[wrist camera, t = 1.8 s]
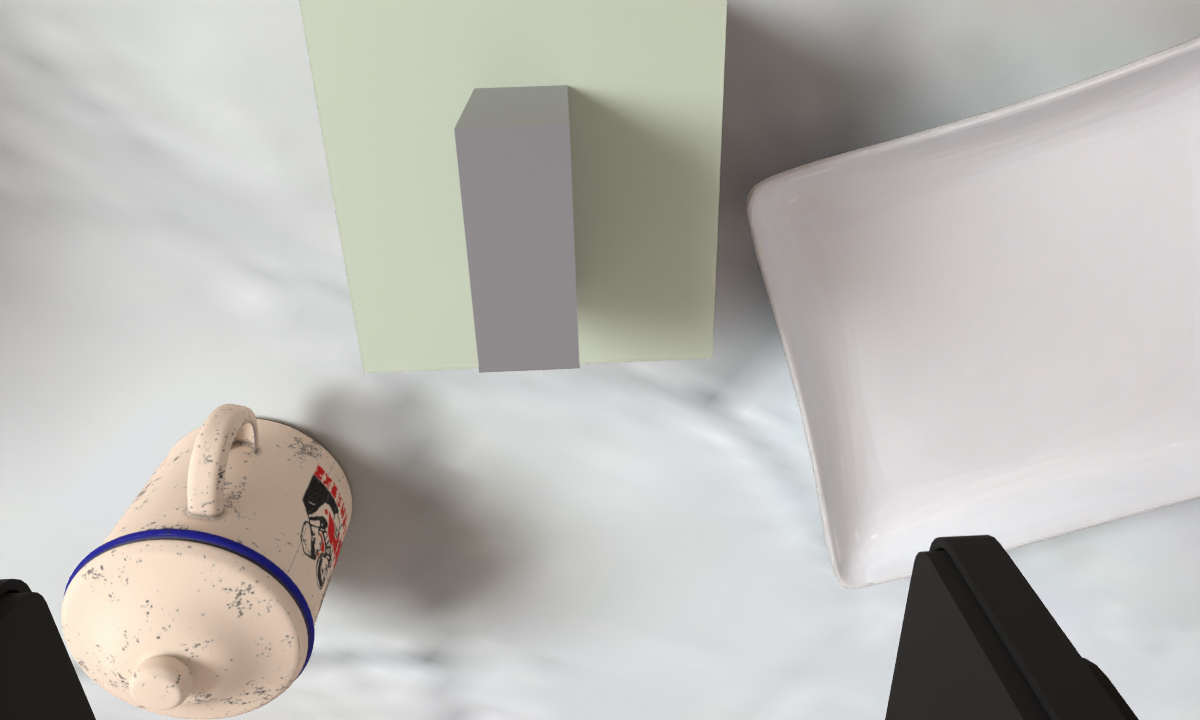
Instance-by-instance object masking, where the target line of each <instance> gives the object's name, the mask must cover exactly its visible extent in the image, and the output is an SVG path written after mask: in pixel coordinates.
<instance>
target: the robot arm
mask: <svg viewBox="0 0 1200 720" xmlns="http://www.w3.org/2000/svg"><path fill="white" fill-rule="evenodd" d="M0 720H96V719H95V716H94V714H93V712H92V709H91V707H90V705H89V702H88V700H87V697H86V695H85V693H84V690H83V688H82V686H81V683H80V681H79V679H78V676H77V674H76V671H75V669H74V667H73V664H72V662H71V660H70V657H69V655H68V652H67V650H66V648H65V645H64V643H63V641H62V638H61V636H60V634H59V631H58V629H57V626H56V624H55V622H54V619H53V617H52V615H51V612H50V610H49V608H48V605H47V603H46V601H45V599H44V598H43V596H42V595H40V594H39V593H36V592H32V591H31V590H30V588H29V587H28V585H27V584H26V583H24V582H23V581H21V580H17V579H1V580H0ZM885 720H1138V718H1137V717H1136V715H1135V714H1134V713H1133V711H1132V710H1131V709H1130V707H1129V706H1128V704H1127V703H1126V702H1125V700H1124V699H1123V698H1122V696H1121V695H1120V693H1119V692H1118V691H1117V689H1116V688H1115V687H1114V685H1113V684H1112V683H1111V681H1110V680H1109V678H1108V677H1107V676H1106V675H1105V674H1104V673H1103V672H1102V671H1101V670H1100V668H1099V667H1098V666H1097V665H1095V664H1094V663H1092V662H1090V661H1089V660H1087V659H1085V658H1082V657H1081V656H1080V654H1079V653H1078V652H1077V650H1076V649H1075V647H1074V646H1073V645H1072V643H1071V642H1070V640H1069V639H1068V638H1067V636H1066V635H1065V633H1064V632H1063V631H1062V629H1061V628H1060V626H1059V625H1058V624H1057V622H1056V621H1055V619H1054V618H1053V617H1052V615H1051V614H1050V612H1049V611H1048V610H1047V608H1046V607H1045V605H1044V604H1043V603H1042V601H1041V600H1040V598H1039V597H1038V596H1037V594H1036V593H1035V591H1034V590H1033V589H1032V587H1031V586H1030V584H1029V583H1028V582H1027V580H1026V579H1025V577H1024V576H1023V575H1022V573H1021V572H1020V570H1019V569H1018V568H1017V566H1016V565H1015V563H1014V562H1013V561H1012V559H1011V558H1010V556H1009V555H1008V554H1007V552H1006V551H1005V549H1004V548H1003V547H1002V545H1001V544H1000V543H999V542H998V541H997V539H996V538H995V537H993V536H990V535H972V536H950V537H938V538H935V539H934V540H933V542H932V543H931V546H930V549H929V551H922V552H918V554H917V555H916V557H915V560H914V565H913V570H912V576H911V581H910V587H909V592H908V598H907V603H906V609H905V614H904V620H903V625H902V631H901V636H900V642H899V647H898V653H897V658H896V664H895V669H894V674H893V680H892V685H891V691H890V696H889V702H888V707H887V713H886V718H885Z"/></svg>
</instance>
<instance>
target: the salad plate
mask: <svg viewBox="0 0 1200 720" xmlns="http://www.w3.org/2000/svg"><path fill="white" fill-rule="evenodd" d="M746 213H747V219H748V224H749V228H750V232H751V236H752V240H753V244H754V248H755V252H756V256H757V260H758V263H759V267H760V270H761V273H762V277H763V280H764V284H765V287H766V291H767V294H768V297H769V301H770V304H771V308H772V311H773V315H774V318H775V321H776V324H777V328H778V331H779V335H780V338H781V342H782V346H783V349H784V353H785V356H786V360H787V363H788V367H789V371H790V375H791V379H792V383H793V386H794V390H795V394H796V397H797V401H798V405H799V409H800V413H801V417H802V422H803V426H804V430H805V435H806V439H807V444H808V448H809V452H810V457H811V461H812V466H813V472H814V477H815V482H816V488H817V494H818V500H819V506H820V512H821V518H822V524H823V531H824V536H825V540H826V545H827V549H828V552H829V557H830V561H831V564H832V568H833V571H834V573H835V576H836V578H837V579H838V581H839V582H840V583H841V585H842V586H844V587H846V588H852V589H856V588H863V587H868V586H873V585H877V584H882V583H886V582H890V581H894V580H899V579H902V578H906V577H910V576H912V570H913V565H914V560H915V557H916V555H917V554H918V552H922V551H929V549H930V546H931V543H932V542H933V540H934V539H935V538H938V537H950V536H972V535H990V536H993V537H995V538H996V539H997V541H998V542H999V543H1000V544H1001V545H1002V547H1003V548H1004V549H1005V551H1006V550H1010V549H1013V548H1017V547H1021V546H1024V545H1028V544H1031V543H1034V542H1038V541H1042V540H1045V539H1049V538H1052V537H1056V536H1059V535H1063V534H1066V533H1070V532H1074V531H1077V530H1081V529H1085V528H1088V527H1092V526H1096V525H1099V524H1103V523H1106V522H1110V521H1114V520H1117V519H1121V518H1124V517H1128V516H1132V515H1135V514H1139V513H1142V512H1146V511H1150V510H1154V509H1157V508H1161V507H1165V506H1168V505H1172V504H1176V503H1180V502H1183V501H1187V500H1191V499H1195V498H1199V497H1200V37H1197V38H1195V39H1192V40H1189V41H1187V42H1184V43H1182V44H1179V45H1177V46H1174V47H1171V48H1169V49H1166V50H1164V51H1161V52H1159V53H1156V54H1153V55H1151V56H1148V57H1146V58H1143V59H1141V60H1138V61H1135V62H1132V63H1130V64H1127V65H1124V66H1121V67H1118V68H1116V69H1113V70H1110V71H1107V72H1104V73H1102V74H1099V75H1096V76H1093V77H1091V78H1088V79H1085V80H1082V81H1079V82H1077V83H1074V84H1071V85H1068V86H1065V87H1062V88H1059V89H1056V90H1053V91H1050V92H1047V93H1045V94H1042V95H1039V96H1036V97H1033V98H1030V99H1027V100H1024V101H1021V102H1018V103H1015V104H1011V105H1008V106H1005V107H1002V108H998V109H995V110H992V111H989V112H985V113H982V114H979V115H975V116H972V117H969V118H965V119H962V120H958V121H955V122H952V123H948V124H945V125H941V126H938V127H935V128H931V129H928V130H924V131H921V132H917V133H914V134H910V135H907V136H903V137H900V138H896V139H893V140H889V141H886V142H882V143H878V144H875V145H871V146H867V147H864V148H860V149H856V150H853V151H849V152H846V153H842V154H839V155H835V156H832V157H828V158H824V159H821V160H818V161H814V162H811V163H808V164H805V165H801V166H798V167H795V168H792V169H789V170H786V171H783V172H781V173H778V174H775V175H772V176H770V177H768V178H766V179H764V180H762V181H761V182H759V183H758V184H756V185H755V186H754V187H753V188H752V189H751V190H750V192H749V194H748V197H747V202H746Z"/></svg>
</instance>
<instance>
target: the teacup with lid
mask: <svg viewBox="0 0 1200 720" xmlns="http://www.w3.org/2000/svg"><path fill="white" fill-rule="evenodd" d="M351 515H352V495H351V490H350V487H349V484H348V481H347V478H346V476H345V474H344V472H343V470H342V469H341V467H340V465H339V464H338V463H337V461H336V460H335V459H334V458H333V456H332V455H331V454H330V453H329V452H328V451H327V450H326V449H325V448H324V447H323V446H321V445H320V444H319V443H317V442H316V441H315V440H313V439H312V438H310V437H309V436H307V435H305V434H304V433H302V432H300V431H298V430H296V429H294V428H291V427H289V426H286V425H283V424H280V423H277V422H273V421H269V420H263V419H256V416H255V414H254V413H253V411H252V410H251V409H249V408H248V407H245V406H241V405H234V404H225V405H222V406H220V407H218V408H216V409H215V410H214V411H213V412H212V413H211V414H210V415H209V416H208V418H207V419H206V420H205V422H204V423H203V425H202V427H199V428H197V429H195V430H194V431H192V432H190V433H189V434H187V435H186V436H185V437H183V438H182V439H181V440H180V441H179V442H178V443H177V444H176V445H175V446H174V447H173V448H172V450H171V451H170V452H169V454H168V455H167V456H166V458H165V459H164V460H163V462H162V463H161V464H160V466H159V467H158V469H157V470H156V471H155V473H154V474H153V475H152V477H151V478H150V479H149V481H148V482H147V484H146V485H145V486H144V488H143V489H142V490H141V492H140V493H139V495H138V496H137V497H136V499H135V500H134V501H133V503H132V504H131V505H130V507H129V508H128V510H127V511H126V512H125V514H124V515H123V516H122V518H121V519H120V520H119V522H118V523H117V525H116V526H115V527H114V529H113V530H112V531H111V533H110V534H109V535H108V537H107V538H106V540H105V541H104V542H103V544H102V545H101V546H100V547H98V548H97V549H95V550H94V551H92V552H91V553H90V554H89V555H88V556H86V557H85V558H84V559H83V560H82V561H81V562H80V564H79V565H78V566H77V567H76V569H75V570H74V572H73V573H72V575H71V577H70V579H69V581H68V583H67V586H66V589H65V593H64V599H63V603H62V610H61V617H62V627H63V633H64V637H65V640H66V643H67V645H68V647H69V649H70V651H71V653H72V655H73V657H74V658H75V660H76V661H77V663H78V664H79V665H80V667H81V668H82V669H83V670H84V671H85V672H86V674H87V675H88V676H89V677H91V678H92V679H93V680H94V681H95V682H96V683H97V684H99V685H100V686H101V687H102V688H104V689H105V690H107V691H108V692H110V693H111V694H113V695H114V696H116V697H118V698H120V699H121V700H123V701H125V702H127V703H129V704H131V705H134V706H136V707H139V708H141V709H144V710H147V711H150V712H153V713H157V714H161V715H165V716H171V717H176V718H184V719H219V718H226V717H231V716H236V715H240V714H243V713H247V712H250V711H252V710H255V709H257V708H259V707H261V706H263V705H266V704H267V703H269V702H270V701H272V700H274V699H275V698H277V697H278V696H279V695H281V694H282V693H283V692H284V691H285V690H287V689H288V688H289V687H290V686H291V684H292V683H293V682H294V681H295V680H296V679H297V678H298V676H299V675H300V674H301V673H302V671H303V670H304V668H305V667H306V665H307V663H308V661H309V658H310V656H311V653H312V649H313V645H314V625H315V622H316V619H317V617H318V614H319V611H320V608H321V605H322V602H323V599H324V596H325V593H326V591H327V588H328V585H329V582H330V579H331V576H332V573H333V570H334V567H335V565H336V562H337V559H338V556H339V553H340V550H341V547H342V544H343V541H344V539H345V536H346V533H347V530H348V527H349V524H350V520H351Z"/></svg>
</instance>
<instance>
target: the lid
mask: <svg viewBox="0 0 1200 720" xmlns="http://www.w3.org/2000/svg"><path fill="white" fill-rule="evenodd" d="M299 4H300V10H301V16H302V21H303V27H304V33H305V39H306V44H307V50H308V56H309V61H310V67H311V73H312V79H313V84H314V90H315V96H316V101H317V107H318V113H319V119H320V124H321V130H322V136H323V142H324V147H325V153H326V159H327V164H328V170H329V176H330V182H331V187H332V193H333V199H334V204H335V210H336V216H337V222H338V227H339V233H340V239H341V245H342V250H343V256H344V262H345V267H346V273H347V279H348V285H349V290H350V296H351V302H352V308H353V313H354V319H355V325H356V330H357V336H358V342H359V348H360V353H361V359H362V365H363V370H364V373H379V372H402V371H425V370H449V369H472V368H479V372H502V371H525V370H549V369H572V368H580V366H579V364H589V363H612V362H635V361H659V360H682V359H705V358H713V335H714V311H715V286H716V262H717V237H718V212H719V188H720V163H721V139H722V114H723V90H724V65H725V41H726V16H727V0H299Z"/></svg>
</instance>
